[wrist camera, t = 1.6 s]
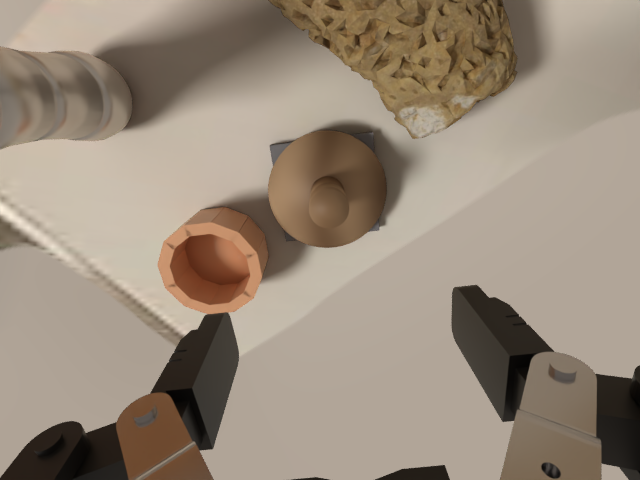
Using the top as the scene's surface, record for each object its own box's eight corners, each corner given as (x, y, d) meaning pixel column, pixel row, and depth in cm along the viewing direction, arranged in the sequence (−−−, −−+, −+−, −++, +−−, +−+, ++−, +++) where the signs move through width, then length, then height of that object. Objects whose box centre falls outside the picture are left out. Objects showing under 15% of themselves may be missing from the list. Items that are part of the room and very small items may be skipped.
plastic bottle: (155, 127, 30) (-114, 166, 11) (84, 146, 30) (-283, 214, 12) (121, 45, 28) (-287, -76, 9) (45, 68, 28) (-486, -1, 10)
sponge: (501, 58, 29) (388, -258, 20) (548, 81, 23) (415, -366, 13) (369, 144, 34) (225, -76, 24) (377, 181, 28) (190, -93, 18)
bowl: (258, 202, 32) (249, 217, 28) (274, 283, 36) (268, 307, 31) (167, 213, 33) (145, 230, 29) (191, 293, 36) (175, 318, 32)
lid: (380, 122, 29) (396, 127, 23) (387, 236, 33) (401, 264, 27) (260, 138, 29) (246, 147, 24) (280, 248, 33) (272, 278, 28)
